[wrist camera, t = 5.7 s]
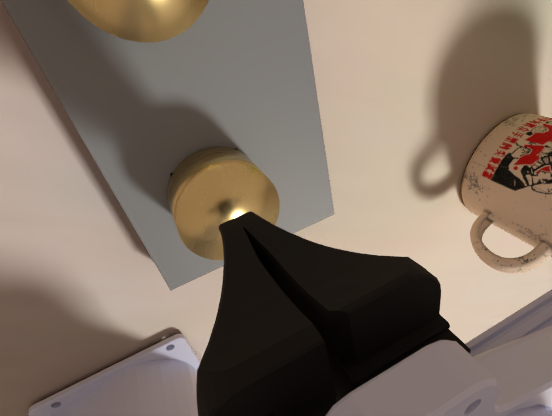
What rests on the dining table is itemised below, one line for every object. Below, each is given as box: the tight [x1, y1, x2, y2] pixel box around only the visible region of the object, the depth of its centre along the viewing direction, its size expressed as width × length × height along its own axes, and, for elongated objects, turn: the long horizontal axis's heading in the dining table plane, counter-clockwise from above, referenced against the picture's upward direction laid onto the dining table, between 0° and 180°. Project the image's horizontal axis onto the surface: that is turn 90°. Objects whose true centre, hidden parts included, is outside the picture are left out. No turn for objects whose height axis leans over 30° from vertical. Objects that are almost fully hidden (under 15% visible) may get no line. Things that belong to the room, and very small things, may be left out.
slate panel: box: [1, 0, 334, 290], centre depth 14 cm, size 10×22×2 cm, turn 14°
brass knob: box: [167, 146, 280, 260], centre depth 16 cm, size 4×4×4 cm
